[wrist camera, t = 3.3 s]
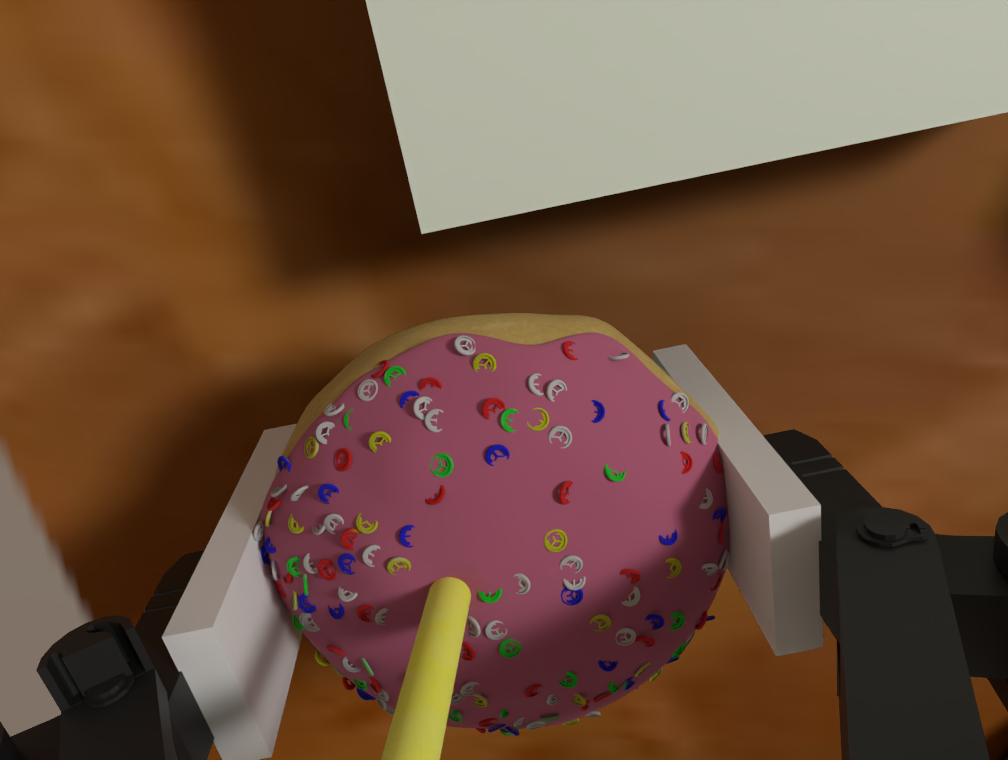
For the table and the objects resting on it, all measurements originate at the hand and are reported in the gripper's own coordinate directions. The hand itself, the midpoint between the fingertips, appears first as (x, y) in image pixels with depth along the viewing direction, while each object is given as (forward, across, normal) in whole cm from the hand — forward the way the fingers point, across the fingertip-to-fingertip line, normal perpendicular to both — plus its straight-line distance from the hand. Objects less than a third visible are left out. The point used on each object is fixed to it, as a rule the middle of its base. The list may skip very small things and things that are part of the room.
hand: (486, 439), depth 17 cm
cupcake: (+1, 0, 0) cm, 1 cm away
